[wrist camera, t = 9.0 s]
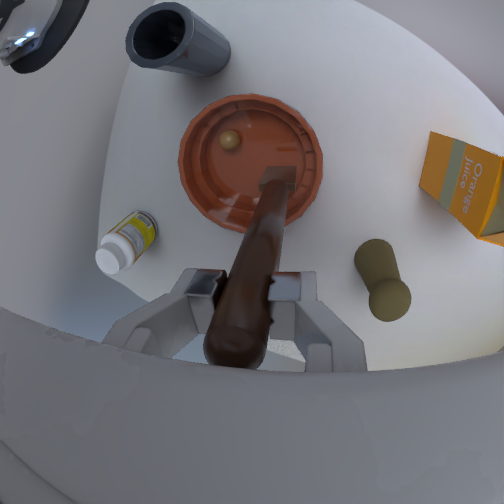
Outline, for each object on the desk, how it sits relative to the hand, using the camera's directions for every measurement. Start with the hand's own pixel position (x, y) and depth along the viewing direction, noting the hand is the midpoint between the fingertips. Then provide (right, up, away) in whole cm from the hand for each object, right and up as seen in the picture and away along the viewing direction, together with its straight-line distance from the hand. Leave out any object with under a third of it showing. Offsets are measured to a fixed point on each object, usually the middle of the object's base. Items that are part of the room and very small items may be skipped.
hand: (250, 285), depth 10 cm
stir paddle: (+3, +9, +15) cm, 18 cm away
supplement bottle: (-17, +5, +29) cm, 34 cm away
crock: (-6, +25, +15) cm, 30 cm away
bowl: (0, +13, +22) cm, 25 cm away
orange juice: (+26, +12, +17) cm, 33 cm away
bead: (-3, +14, +19) cm, 24 cm away
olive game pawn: (+17, 0, +26) cm, 31 cm away
